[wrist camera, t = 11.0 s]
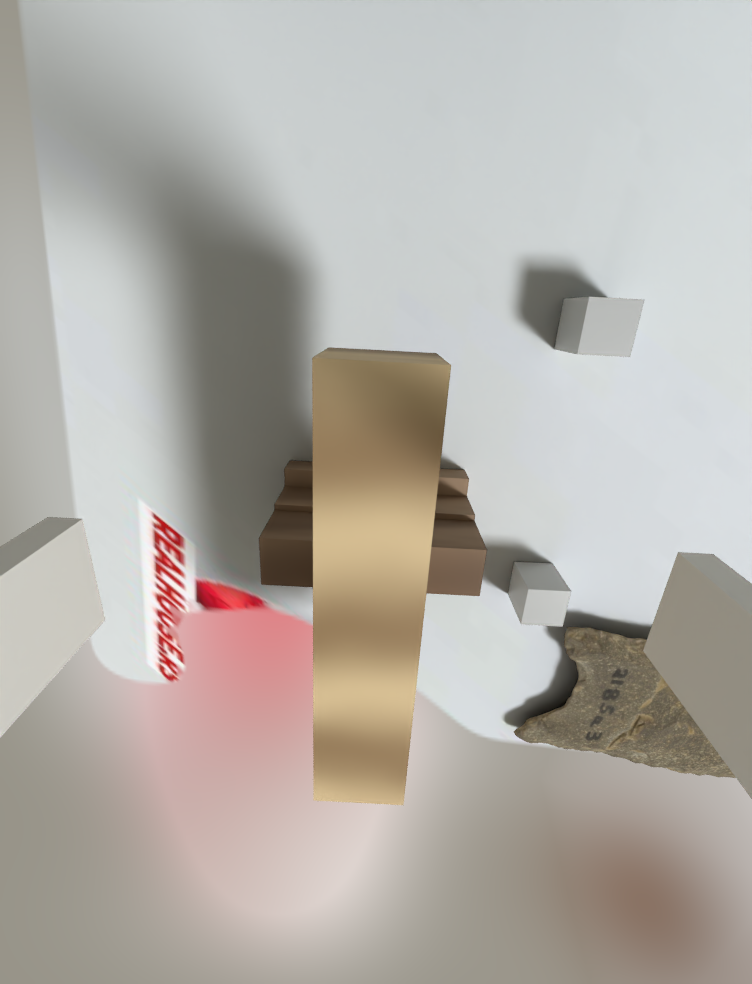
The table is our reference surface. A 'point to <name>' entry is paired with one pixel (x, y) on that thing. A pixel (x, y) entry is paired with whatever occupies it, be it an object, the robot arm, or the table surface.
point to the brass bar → (371, 560)
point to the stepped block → (451, 550)
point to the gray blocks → (588, 333)
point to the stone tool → (623, 709)
